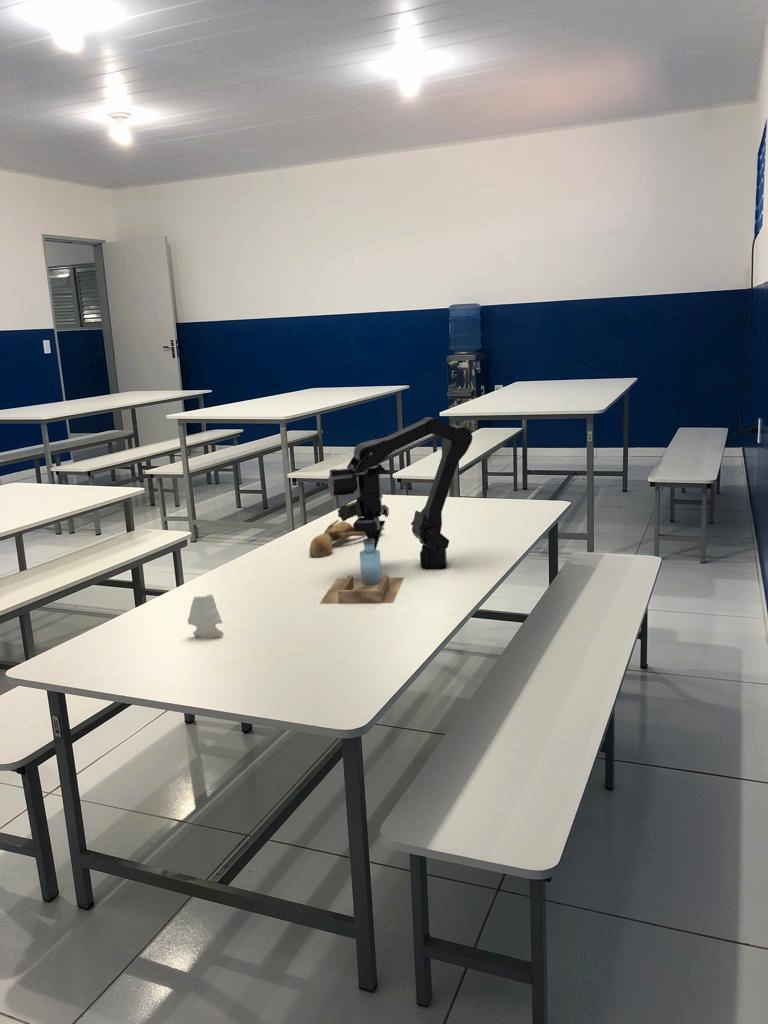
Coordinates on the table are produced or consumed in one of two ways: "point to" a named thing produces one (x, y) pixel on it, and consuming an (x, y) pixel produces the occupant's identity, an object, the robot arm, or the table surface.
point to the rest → (362, 591)
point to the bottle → (370, 563)
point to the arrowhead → (205, 617)
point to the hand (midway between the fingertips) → (373, 549)
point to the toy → (331, 538)
